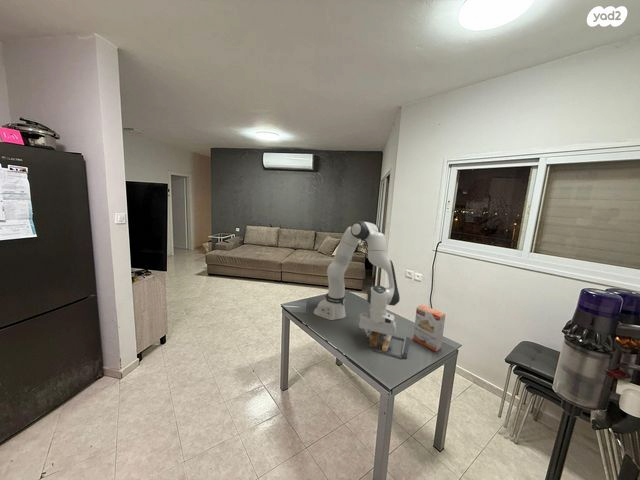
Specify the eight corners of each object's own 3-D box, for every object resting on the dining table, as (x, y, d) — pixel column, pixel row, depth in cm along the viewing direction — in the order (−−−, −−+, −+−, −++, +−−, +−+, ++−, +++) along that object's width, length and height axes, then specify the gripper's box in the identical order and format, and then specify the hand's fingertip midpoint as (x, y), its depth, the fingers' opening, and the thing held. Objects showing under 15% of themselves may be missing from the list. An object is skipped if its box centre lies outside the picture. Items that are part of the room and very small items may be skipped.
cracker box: (412, 339, 143) (416, 306, 139) (418, 336, 147) (422, 304, 143) (435, 352, 132) (440, 316, 128) (441, 348, 135) (446, 313, 132)
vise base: (373, 351, 131) (373, 345, 131) (380, 333, 148) (380, 328, 148) (406, 360, 125) (406, 354, 124) (409, 341, 142) (410, 336, 141)
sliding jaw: (381, 351, 131) (382, 346, 130) (387, 336, 145) (387, 332, 145) (386, 352, 130) (387, 347, 129) (391, 337, 144) (392, 333, 144)
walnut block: (369, 346, 136) (369, 335, 135) (372, 338, 143) (373, 328, 142) (376, 348, 134) (377, 337, 133) (379, 340, 141) (380, 330, 140)
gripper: (358, 314, 137) (357, 336, 139) (396, 321, 129) (394, 345, 131) (360, 309, 143) (360, 331, 145) (397, 316, 135) (395, 339, 137)
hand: (376, 338), depth 138 cm, fingers open, 8 cm apart
